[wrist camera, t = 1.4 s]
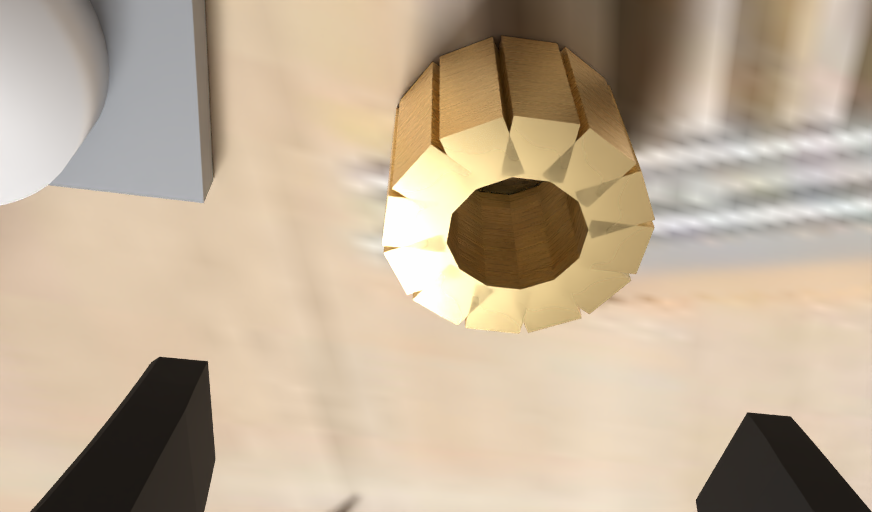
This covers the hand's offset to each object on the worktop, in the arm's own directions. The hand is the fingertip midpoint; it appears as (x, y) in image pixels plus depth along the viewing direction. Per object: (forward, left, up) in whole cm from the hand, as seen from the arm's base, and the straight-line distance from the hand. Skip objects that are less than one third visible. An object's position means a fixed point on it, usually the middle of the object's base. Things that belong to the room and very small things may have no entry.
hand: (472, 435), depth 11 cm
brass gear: (-1, -1, -10) cm, 10 cm away
